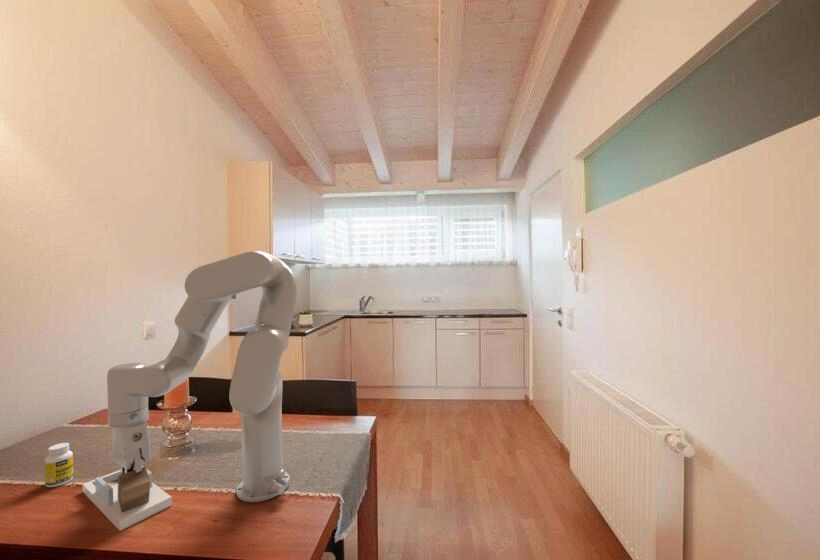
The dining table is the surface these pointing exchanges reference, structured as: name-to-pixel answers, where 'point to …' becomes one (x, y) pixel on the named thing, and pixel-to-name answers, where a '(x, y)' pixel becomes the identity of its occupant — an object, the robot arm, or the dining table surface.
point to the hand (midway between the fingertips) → (131, 491)
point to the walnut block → (133, 489)
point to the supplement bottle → (58, 465)
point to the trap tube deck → (109, 502)
